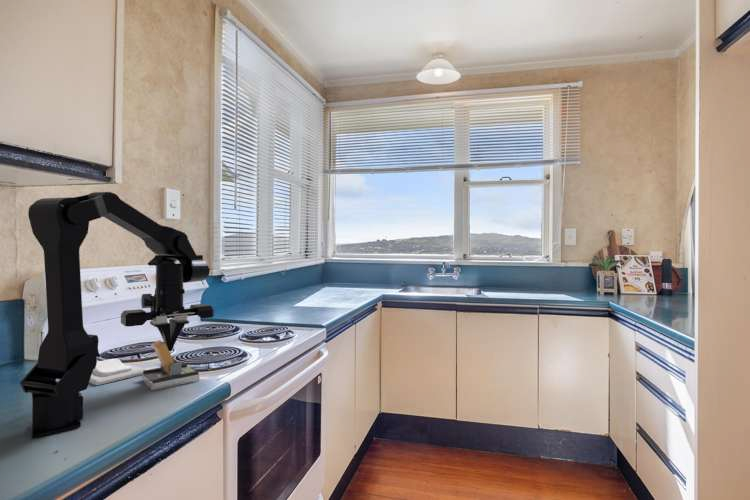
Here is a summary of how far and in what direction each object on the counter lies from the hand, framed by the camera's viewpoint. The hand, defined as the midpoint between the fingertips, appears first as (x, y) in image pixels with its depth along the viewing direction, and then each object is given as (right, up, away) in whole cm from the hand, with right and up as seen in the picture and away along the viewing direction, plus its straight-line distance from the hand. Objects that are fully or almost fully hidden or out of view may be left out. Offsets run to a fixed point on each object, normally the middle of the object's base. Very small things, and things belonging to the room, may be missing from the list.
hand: (169, 350), depth 93 cm
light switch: (-16, -8, +4) cm, 18 cm away
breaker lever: (0, -5, 0) cm, 5 cm away
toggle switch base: (0, -7, 0) cm, 7 cm away
